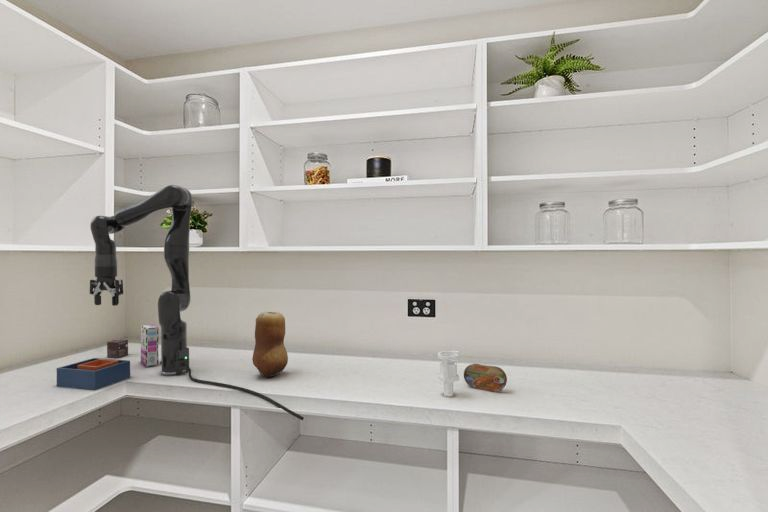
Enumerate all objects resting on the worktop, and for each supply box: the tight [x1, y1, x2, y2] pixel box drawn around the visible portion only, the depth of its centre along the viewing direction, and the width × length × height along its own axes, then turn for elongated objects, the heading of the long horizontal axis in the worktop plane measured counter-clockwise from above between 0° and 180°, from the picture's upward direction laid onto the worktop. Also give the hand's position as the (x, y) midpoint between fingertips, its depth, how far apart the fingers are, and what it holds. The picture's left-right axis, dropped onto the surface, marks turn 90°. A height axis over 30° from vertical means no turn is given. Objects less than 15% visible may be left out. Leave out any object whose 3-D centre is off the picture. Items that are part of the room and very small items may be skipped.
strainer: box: [437, 350, 460, 397], centre depth 136 cm, size 7×7×15 cm
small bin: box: [77, 358, 119, 371], centre depth 151 cm, size 9×9×6 cm
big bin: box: [56, 357, 131, 391], centre depth 151 cm, size 18×15×7 cm
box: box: [106, 338, 129, 359], centre depth 188 cm, size 6×6×7 cm
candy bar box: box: [140, 324, 159, 368], centre depth 175 cm, size 11×5×16 cm, turn 42°
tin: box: [463, 363, 508, 393], centre depth 141 cm, size 15×3×8 cm, turn 56°
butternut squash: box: [252, 311, 289, 379], centre depth 158 cm, size 14×13×25 cm
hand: (106, 305), depth 164 cm, fingers open, 8 cm apart
